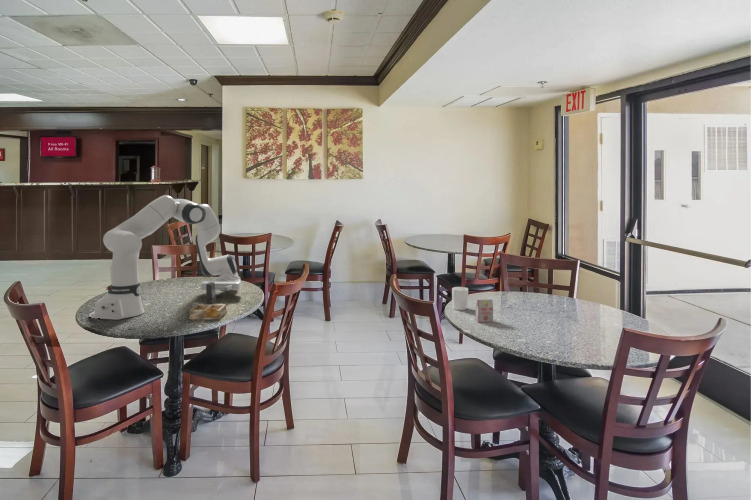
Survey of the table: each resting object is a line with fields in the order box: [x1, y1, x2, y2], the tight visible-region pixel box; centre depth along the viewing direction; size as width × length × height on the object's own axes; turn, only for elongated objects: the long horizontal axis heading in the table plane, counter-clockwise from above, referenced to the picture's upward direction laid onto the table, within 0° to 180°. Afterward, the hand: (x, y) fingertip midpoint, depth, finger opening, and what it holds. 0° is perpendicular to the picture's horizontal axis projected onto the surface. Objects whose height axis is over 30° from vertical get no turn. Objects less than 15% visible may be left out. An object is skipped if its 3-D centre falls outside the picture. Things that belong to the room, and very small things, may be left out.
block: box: [206, 282, 217, 305], centre depth 225 cm, size 2×5×12 cm, turn 2°
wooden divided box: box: [188, 304, 228, 320], centre depth 212 cm, size 14×12×5 cm
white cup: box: [451, 286, 469, 311], centre depth 227 cm, size 8×8×10 cm
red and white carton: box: [475, 299, 494, 324], centre depth 207 cm, size 4×7×10 cm, turn 95°
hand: (216, 288), depth 235 cm, fingers open, 8 cm apart
